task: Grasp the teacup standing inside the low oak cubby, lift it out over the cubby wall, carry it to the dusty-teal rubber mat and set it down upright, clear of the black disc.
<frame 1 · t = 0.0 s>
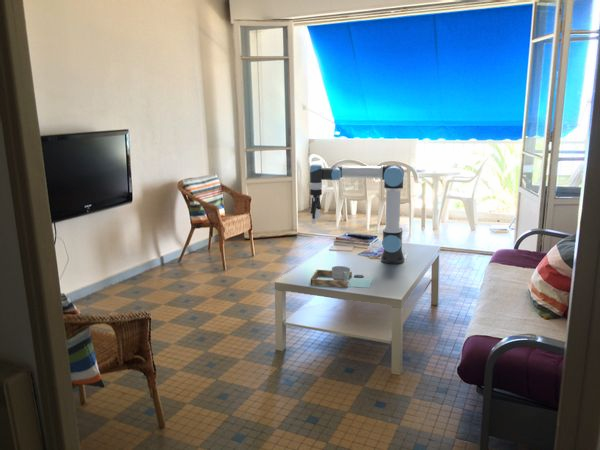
hand: (316, 221, 343), 28 cm above the table, fingers open, 13 cm apart
cubby: (331, 281, 311), on the table
disc: (358, 276, 319), on the table
mat: (359, 282, 308), on the table
teacup: (341, 282, 310), on the table
walnut bar: (335, 273, 327), on the table
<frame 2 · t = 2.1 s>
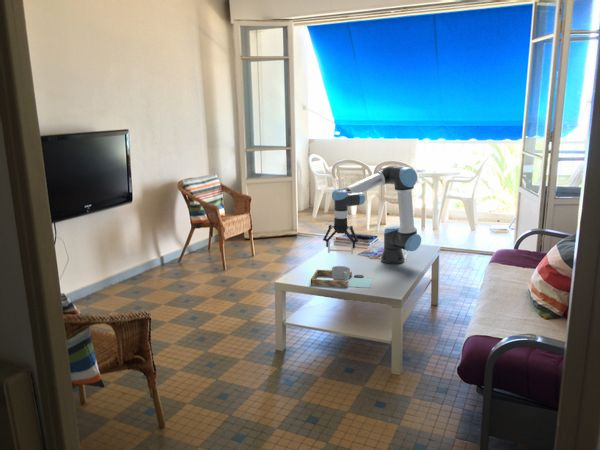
hand: (340, 253, 307), 17 cm above the table, fingers open, 13 cm apart
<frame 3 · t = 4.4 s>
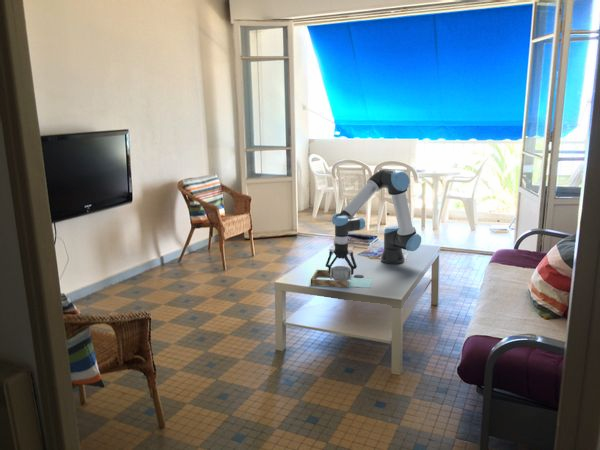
hand: (340, 278, 310), 2 cm above the table, fingers closed on teacup, 11 cm apart
teacup: (341, 282, 310), on the table, touching gripper
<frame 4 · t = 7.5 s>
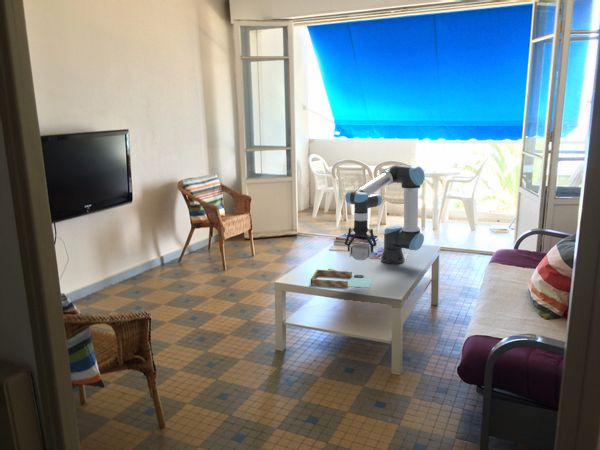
hand: (360, 257, 304), 16 cm above the table, fingers closed on teacup, 11 cm apart
teacup: (361, 260, 305), point 14 cm above the table, touching gripper
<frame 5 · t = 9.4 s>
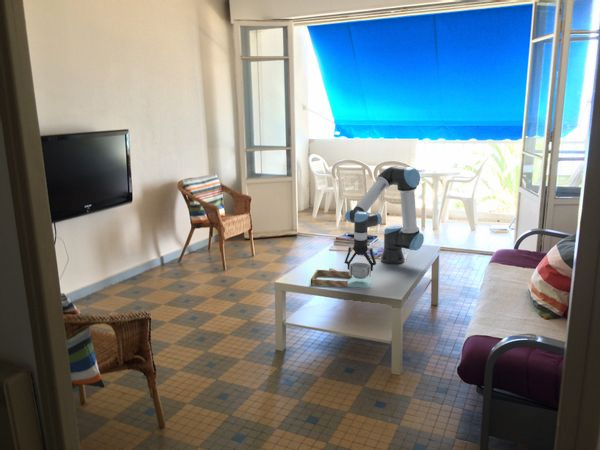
hand: (360, 275, 307), 4 cm above the table, fingers closed on teacup, 11 cm apart
teacup: (360, 278, 307), point 3 cm above the table, touching gripper
when the fingers open (3 cm above the table, at t = 10.7 s): teacup drops 2 cm, resting on mat.
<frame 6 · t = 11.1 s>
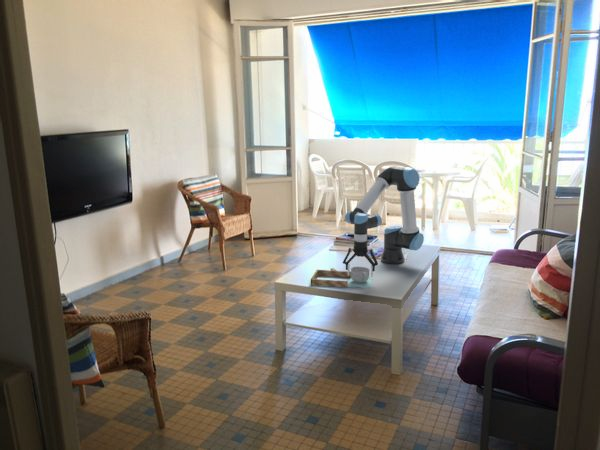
hand: (360, 275, 307), 4 cm above the table, fingers open, 13 cm apart
teacup: (360, 282, 308), resting on mat
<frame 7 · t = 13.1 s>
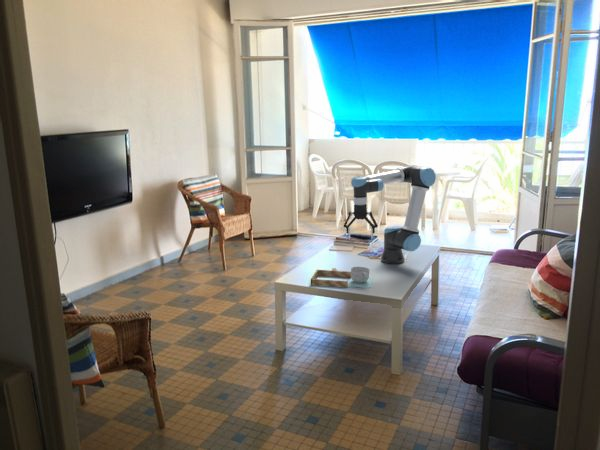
hand: (360, 238, 316), 23 cm above the table, fingers open, 13 cm apart
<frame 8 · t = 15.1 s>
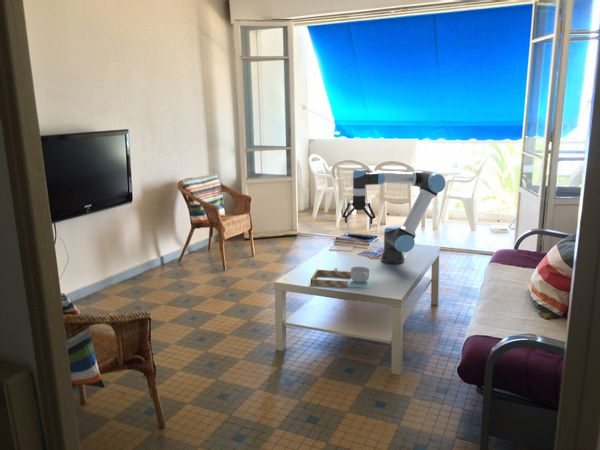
hand: (358, 228, 326), 27 cm above the table, fingers open, 13 cm apart
at the end: teacup inside the target area on the mat (0.4 cm from its centre), point 0.0 cm above the mat's base; teacup touching mat; teacup tilted 0° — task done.
